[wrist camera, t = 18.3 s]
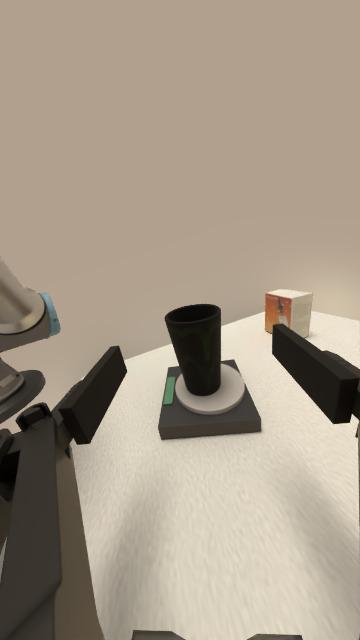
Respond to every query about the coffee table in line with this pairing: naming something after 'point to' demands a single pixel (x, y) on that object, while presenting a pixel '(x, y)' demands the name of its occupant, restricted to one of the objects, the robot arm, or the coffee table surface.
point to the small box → (288, 310)
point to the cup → (197, 346)
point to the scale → (207, 407)
